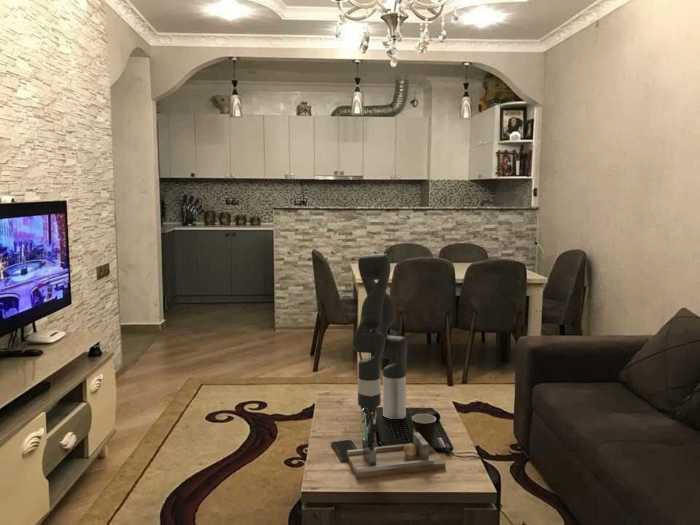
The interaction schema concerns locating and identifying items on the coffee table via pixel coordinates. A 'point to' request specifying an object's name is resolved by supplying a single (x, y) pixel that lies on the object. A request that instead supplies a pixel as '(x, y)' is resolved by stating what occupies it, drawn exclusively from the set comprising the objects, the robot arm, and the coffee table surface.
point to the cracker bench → (396, 460)
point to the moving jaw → (369, 450)
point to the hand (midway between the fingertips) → (369, 440)
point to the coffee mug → (424, 426)
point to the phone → (343, 449)
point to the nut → (410, 450)
